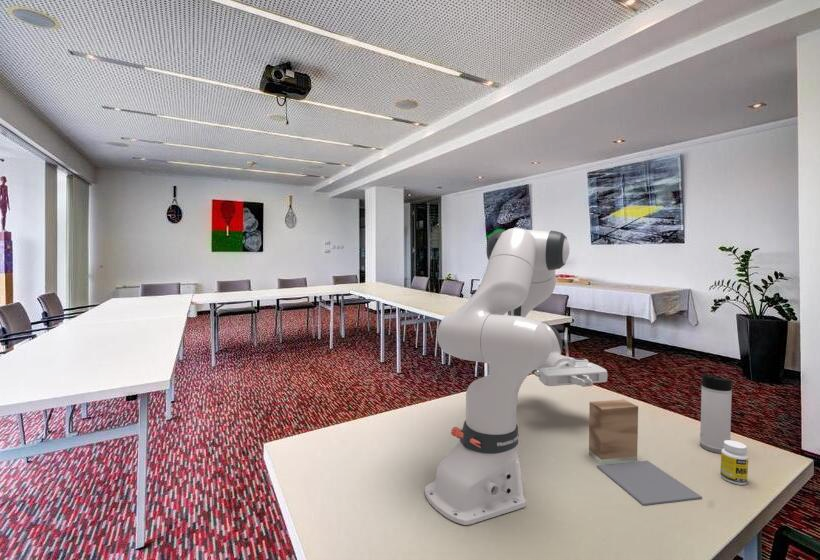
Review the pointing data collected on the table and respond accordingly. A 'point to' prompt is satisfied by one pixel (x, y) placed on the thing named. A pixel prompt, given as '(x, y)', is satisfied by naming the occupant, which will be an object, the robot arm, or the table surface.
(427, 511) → the table surface
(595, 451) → the walnut block
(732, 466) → the supplement bottle
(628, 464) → the mat
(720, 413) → the travel mug
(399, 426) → the table surface
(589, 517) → the table surface
